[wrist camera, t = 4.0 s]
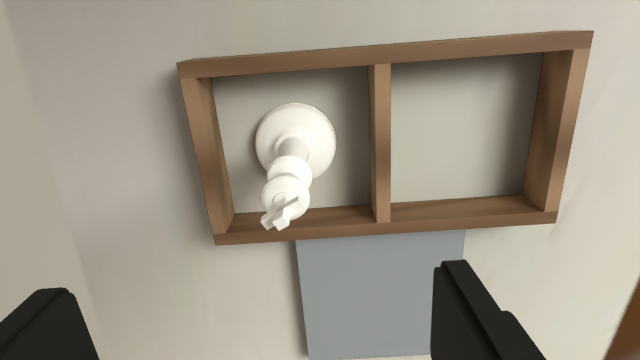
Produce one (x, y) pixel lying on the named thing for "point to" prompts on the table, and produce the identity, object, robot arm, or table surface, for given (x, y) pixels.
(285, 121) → the chess piece
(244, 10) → the table surface
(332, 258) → the pad
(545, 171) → the bay frame
